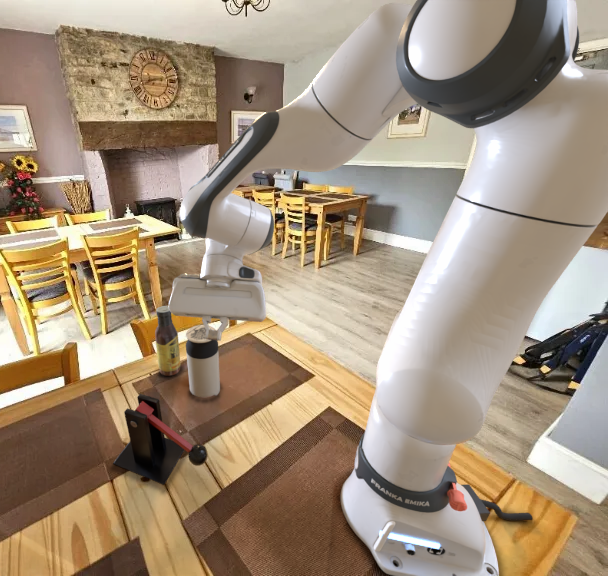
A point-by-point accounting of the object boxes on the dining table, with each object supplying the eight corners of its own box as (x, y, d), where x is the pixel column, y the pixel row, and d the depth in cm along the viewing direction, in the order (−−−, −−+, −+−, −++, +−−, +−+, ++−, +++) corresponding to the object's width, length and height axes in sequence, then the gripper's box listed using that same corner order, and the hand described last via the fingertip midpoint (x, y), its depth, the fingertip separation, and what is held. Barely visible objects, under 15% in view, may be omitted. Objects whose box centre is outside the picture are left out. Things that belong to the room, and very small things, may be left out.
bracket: (187, 449, 66) (181, 397, 60) (164, 489, 59) (155, 433, 53) (140, 433, 70) (130, 382, 64) (114, 468, 63) (99, 414, 57)
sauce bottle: (176, 378, 87) (169, 316, 78) (156, 375, 88) (146, 314, 80) (184, 363, 93) (178, 304, 84) (164, 361, 94) (156, 303, 85)
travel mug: (226, 389, 82) (224, 332, 75) (203, 406, 77) (199, 346, 70) (206, 375, 87) (202, 320, 80) (184, 390, 82) (177, 333, 75)
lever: (205, 456, 60) (213, 448, 58) (197, 473, 57) (205, 465, 55) (140, 406, 62) (145, 396, 60) (128, 419, 59) (134, 410, 57)
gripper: (170, 267, 65) (158, 332, 61) (267, 271, 61) (262, 341, 57) (179, 278, 71) (169, 338, 67) (268, 282, 67) (264, 346, 63)
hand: (213, 339), depth 62 cm, fingers closed
